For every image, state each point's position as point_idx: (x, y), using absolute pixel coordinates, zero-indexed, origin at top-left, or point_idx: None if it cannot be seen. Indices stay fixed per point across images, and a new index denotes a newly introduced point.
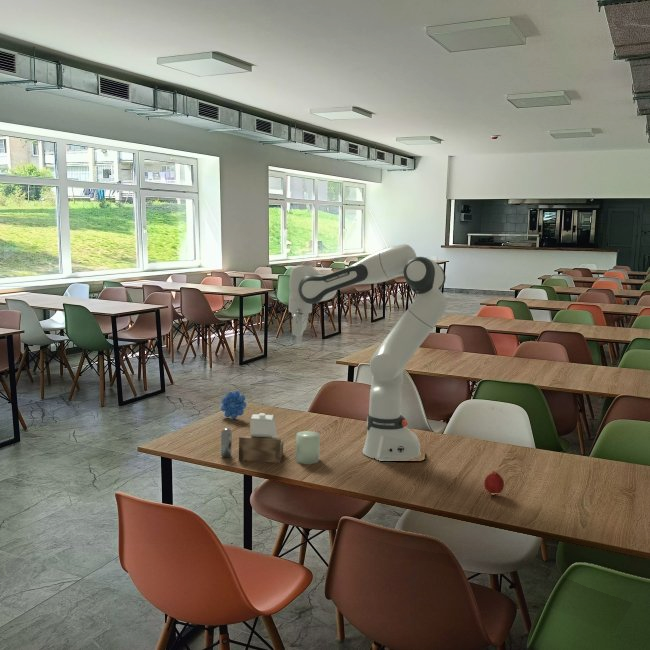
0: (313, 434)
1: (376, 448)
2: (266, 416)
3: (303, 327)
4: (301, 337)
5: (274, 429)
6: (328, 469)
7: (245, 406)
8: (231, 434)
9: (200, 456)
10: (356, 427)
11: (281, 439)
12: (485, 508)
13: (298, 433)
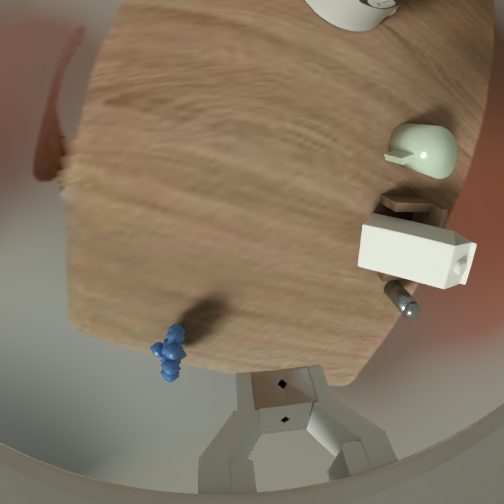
0: (438, 140)
1: (393, 10)
2: (457, 258)
3: (471, 496)
4: (345, 418)
5: (411, 230)
6: (439, 111)
7: (178, 331)
8: (413, 300)
9: (389, 318)
10: (158, 42)
11: (396, 207)
12: None
13: (435, 174)
